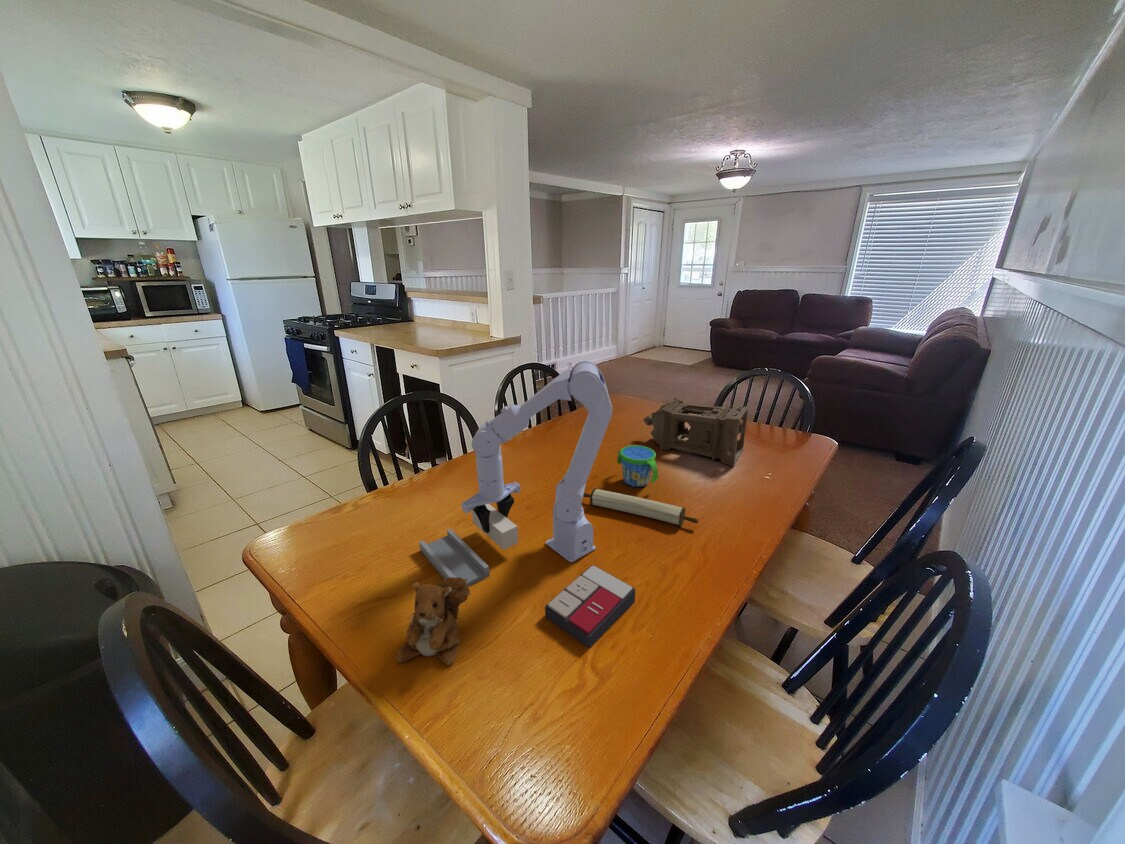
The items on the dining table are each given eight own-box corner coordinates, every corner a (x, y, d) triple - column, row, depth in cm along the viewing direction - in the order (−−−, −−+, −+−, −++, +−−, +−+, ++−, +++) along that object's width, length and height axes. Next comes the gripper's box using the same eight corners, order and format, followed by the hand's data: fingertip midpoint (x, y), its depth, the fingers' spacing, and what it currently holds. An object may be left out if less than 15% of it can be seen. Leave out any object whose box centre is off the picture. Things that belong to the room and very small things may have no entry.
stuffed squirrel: (392, 666, 72) (380, 606, 68) (431, 604, 85) (423, 550, 81) (448, 676, 71) (439, 614, 66) (479, 611, 83) (474, 556, 79)
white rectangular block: (518, 542, 99) (517, 526, 97) (503, 549, 96) (502, 533, 95) (487, 516, 109) (485, 501, 107) (473, 522, 106) (471, 507, 105)
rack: (489, 575, 93) (488, 566, 92) (455, 593, 88) (454, 583, 87) (451, 537, 106) (450, 528, 105) (420, 550, 101) (419, 541, 100)
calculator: (543, 603, 81) (592, 561, 91) (544, 620, 83) (592, 576, 93) (589, 635, 74) (636, 585, 84) (589, 652, 76) (635, 602, 86)
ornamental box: (634, 451, 159) (633, 406, 151) (653, 430, 172) (652, 387, 164) (733, 472, 141) (737, 422, 133) (745, 447, 154) (750, 400, 146)
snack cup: (666, 489, 127) (669, 458, 124) (637, 498, 123) (639, 466, 119) (634, 468, 140) (636, 439, 137) (607, 475, 136) (608, 446, 132)
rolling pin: (699, 524, 111) (701, 507, 109) (695, 535, 106) (697, 518, 105) (584, 496, 124) (585, 481, 122) (576, 505, 119) (577, 490, 118)
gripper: (507, 461, 104) (510, 509, 109) (453, 480, 96) (458, 531, 100) (524, 471, 99) (526, 521, 104) (468, 492, 91) (473, 545, 95)
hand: (494, 527), depth 102 cm, fingers closed on white rectangular block, 4 cm apart
